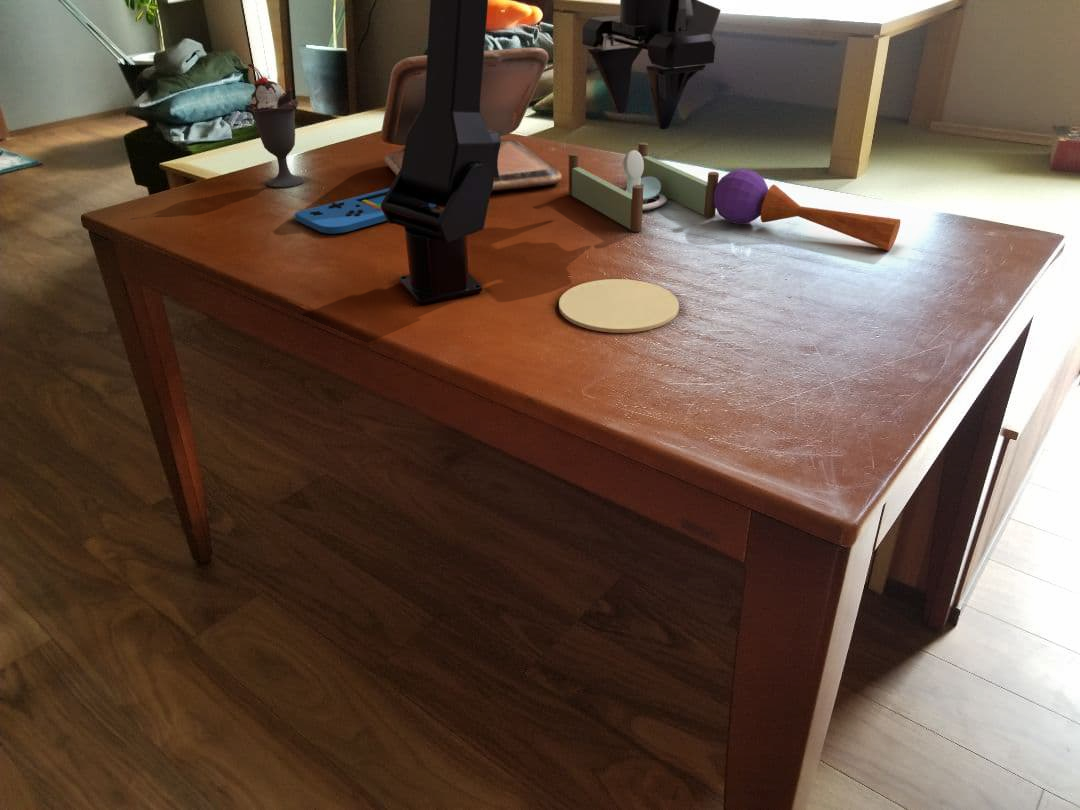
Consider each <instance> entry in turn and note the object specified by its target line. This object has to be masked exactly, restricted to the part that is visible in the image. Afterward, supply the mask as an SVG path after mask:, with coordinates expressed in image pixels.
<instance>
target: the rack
mask: <svg viewBox="0 0 1080 810" xmlns="http://www.w3.org/2000/svg"><path fill="white" fill-rule="evenodd" d="M637 146H638V147H637V149H638V150H637V151H638V152H639V153H640V154H641V156H642V158H643V162H644V170H643V173H642V175H641V178H643V177H655V178H657V179H658V180H659V182H660V183H661V189H660V192H659V193H658V194H661V195H664V196H665V197H666V198H667V199H670V200H673V201H675V202H676V203H679V204H681V205H683V206H685V207H687V208H689V209H691V210H692V211H695V212H697V213H699V214H701V215H703V216H705V217H706V218H714V217H716V211H717V209H716V207H715V205H714V192H715V188H716V186H717V184H718V182H719V178H720V173H719V171H718V172H717V171H709V172H708V173H707V180H704V179H701V178H699V177H698V176H694V175H692V174H690V173H688V172H686V171H684V170H682V169H679V168H677V167H674V166H672V165H670V164H667V163H665V162H663V161H661V160H658V159H656V158H654V157H653V156H649V155H648V152H649V143H648V142H645V141H644V142H642V141H641V142H639V143H638V145H637ZM568 195H569V196H572V197H573V198H575V199H576V200H578V201H580V202H582V203H583V204H584V205H587V206H589V207H591V208H592V209H594V210H595V211H597V212H599V213H601V214H602V215H605V216H606V217H607V218H609V219H611V220H613V221H615V222H617V223H618V224H620V225H622V226H623V227H625V228H627V229H628V230H630V231H631V232H633V233H640V232H641V231H642V230H643V210H642V209H643V186H642V185H634V186H633V187H632V194H630V193H628V192H626V190H624V189H622V188H620V187H618V186H617V185H615V184H612V183H610V182H608V180H607V181H606V180H605V179H603V178H601V177H599V176H597V175H595V174H593V173H592V172H589V171H587V170H585V169H583V168H582V167H579V153H577V152H571V153H568Z"/></svg>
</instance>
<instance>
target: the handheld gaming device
mask: <svg viewBox="0 0 1080 810" xmlns="http://www.w3.org/2000/svg"><path fill="white" fill-rule="evenodd" d="M389 189H390V187H388V188H384V189H380V190H375V191H373V192H369V193H364V194H361V195H357V196H354V197H349V198H345V199H341V200H337V201H334V202H330V203H326V204H322V205H318V206H315V207H311V208H307V209H302V210H299V211H296V212H294V217H295V220H296V221H297V222H299V223H301V224H303V225H305V226H307V227H309V228H311V229H313V230H316V231H318V232H320V233H323V234H329V235H330V234H332V235H333V234H345V233H348V232H353V231H355V230H359V229H363V228H367V227H370V226H373V225H377V224H381V223H384V222H387V220H386V217H385V215H384V213H383V211H382V209H381V203H382V201H383V199H384V198H385V196H386V194H387V192H388V190H389ZM436 206H437V205H435V204H431V203H429V207H433V208H436Z"/></svg>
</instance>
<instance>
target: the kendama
mask: <svg viewBox="0 0 1080 810" xmlns="http://www.w3.org/2000/svg"><path fill="white" fill-rule="evenodd" d="M714 205H715V207H716V211H717V213H718V215H719V216H720V217H721V218H722V219H724V221H727V222H729V223H733V224H737V225H743V224H749V223H752V222H754V221H755V220H756V219H758V218H760V221H761V223H763V224H764V223H768V222H769V223H770V222H773V221H779V220H784V219H790V218H796V217H798V218H801V219H804V220H807V221H808V222H811V223H814V224H817V225H819V226H822V227H824V228H828V229H830V230H832V231H835V232H838V233H841V234H843V235H846V236H848V237H850V238H853V239H857V240H859V241H862V242H864V243H867V244H870V245H872V246H875V247H878V248H879V249H883V250H885V251H888V252H890V251H891V250H892V248H893V246H894V244H895V242H896V239H897V237H898V234H899V230H900V226H901V219H899V218H893V217H884V216H878V215H869V214H864V213H863V214H861V213H853V212H847V211H840V210H831V209H824V208H817V207H808V206H801V205H800V204H798V203H797V202H796V201H795V200H794V199H793V198H791V197H790V196H789V195H788V194H786V192H784V191H783V190H782V189H781V188H779V187H778V186H777V185H776V184H772V185H770V186H769V188H768V185H767V182H766V181H765V179H764V178H763V177H762V176H761V175H760V174H758V173H757V172H756V171H754V170H752V169H751V170H750V169H746V168H740V169H734V170H732V171H729V172H727V174H725V175H724V176H722V177H721V178H720V179H719V180H718V184H717V186H716V188H715V192H714Z"/></svg>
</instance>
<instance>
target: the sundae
mask: <svg viewBox="0 0 1080 810" xmlns="http://www.w3.org/2000/svg"><path fill="white" fill-rule="evenodd" d="M247 67H249V68H251V69H252V70H253V71H254V72H255V73H256V75H257V76H256V77H257V80H255V81H254V83H253V86H254V88H255V89H254V91H253V92H252V93H251V95H250V100H249V102H250V104H245V105H244V109H245V110H246V111H247V112H249V113H250V114H251V116H252V118H253V120H254V123H255V126H256V128H257V131H258V135H259V138H260V141H261V143H262V146H263V147H264V149H265V150H266V151H267V152H268V153H269V154H271V155H273V156H274V157H276V159H277V164H278V172H277V175H276V176H275V177H273V178H270V179H268V180H267V181H266V185H267V186H268V187H270V188H275V189H282V188H284V189H286V188H292V187H297V186H300V185H302V184H304V182H305V181H306V179H305V178H304V177H303V176H300V175H294V174H293V173H291V171H290V169H289V166H288V162H287V156H288V155H289V154H290V153H291V152H292V151H293V149H294V147H295V146H296V145H295V144H296V121H295V117H296V116H295V113H296V112H295V110H296V109H297V108H298V107H299V103H300V101H299V99H292V89H291V88H290V87H289V88H287V89H286V90H285V91H284V87H283V86H281V85H280V84H278V83H277V82H275V81H272V80H269V79H268V78H267V77H265V76H262V74H261V72H260V70H259V69H258V68H257V67H256V66H254V63H253V62H252V63H248V64H247Z"/></svg>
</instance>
